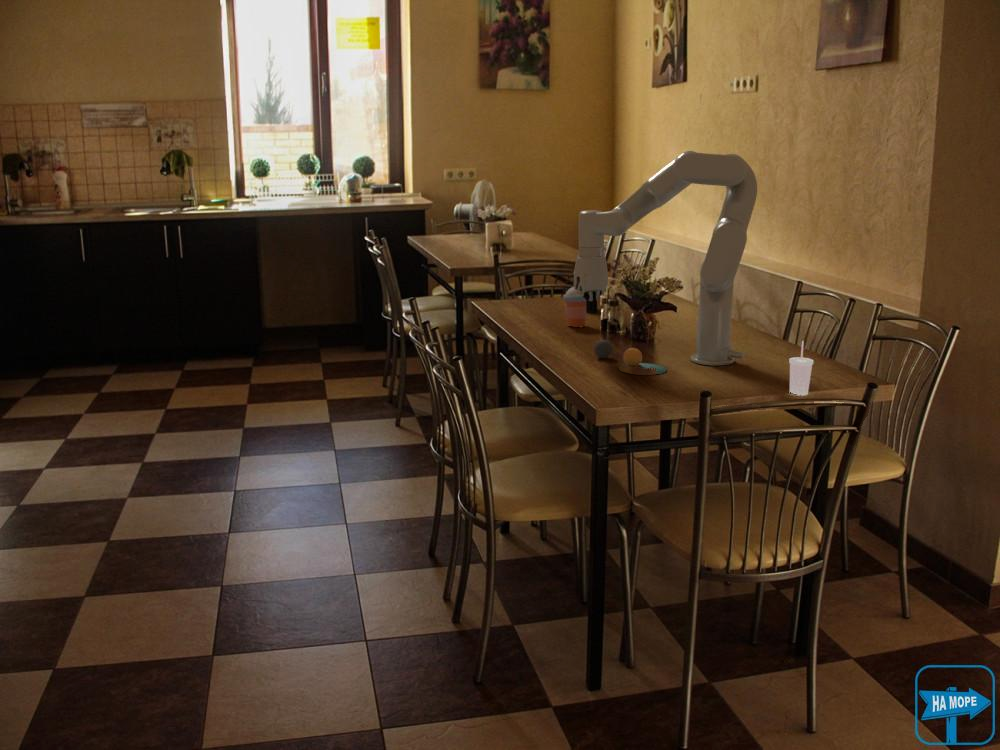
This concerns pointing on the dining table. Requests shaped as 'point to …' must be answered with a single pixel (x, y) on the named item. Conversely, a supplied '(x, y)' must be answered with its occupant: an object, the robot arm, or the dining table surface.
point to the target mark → (658, 368)
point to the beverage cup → (800, 374)
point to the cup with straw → (575, 308)
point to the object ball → (632, 357)
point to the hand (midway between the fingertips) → (591, 313)
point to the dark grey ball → (603, 349)
